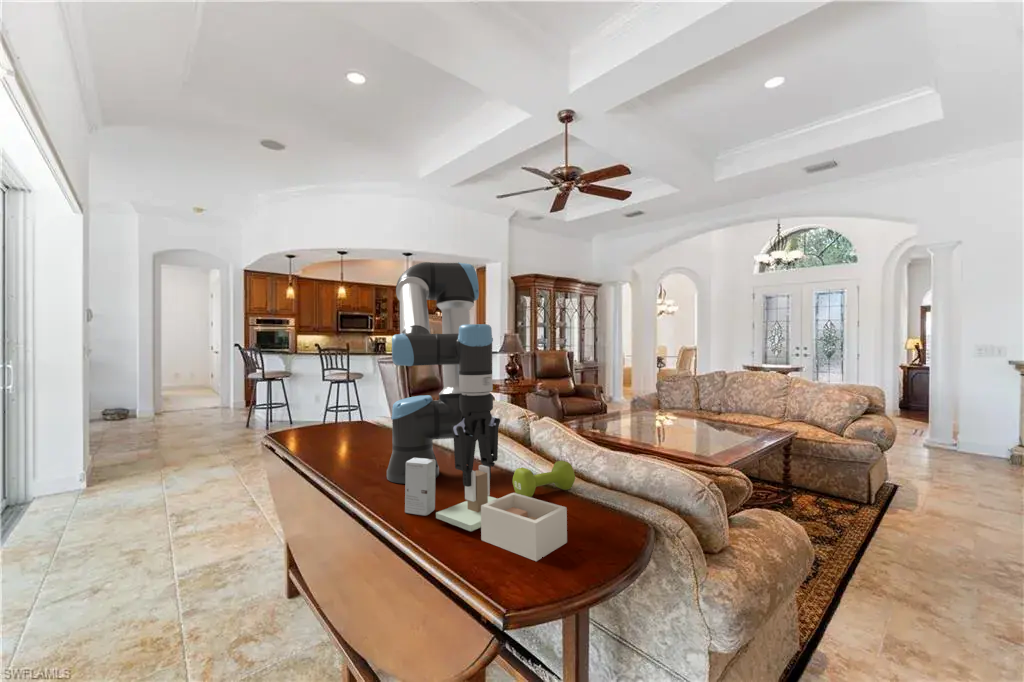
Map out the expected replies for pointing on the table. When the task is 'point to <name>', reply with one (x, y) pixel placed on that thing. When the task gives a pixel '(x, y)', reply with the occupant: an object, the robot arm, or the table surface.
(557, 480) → the dumbbell
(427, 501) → the skincare box
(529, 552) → the box
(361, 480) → the table surface
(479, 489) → the lid
